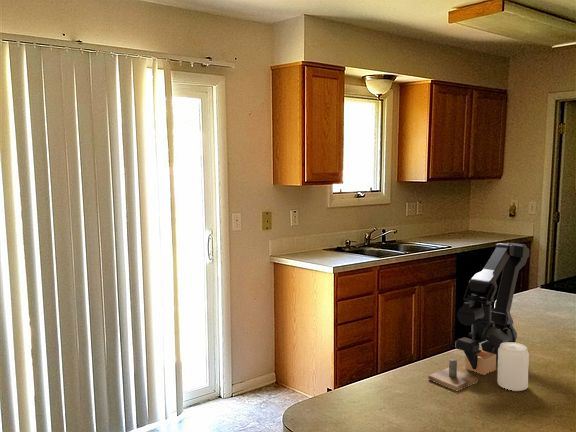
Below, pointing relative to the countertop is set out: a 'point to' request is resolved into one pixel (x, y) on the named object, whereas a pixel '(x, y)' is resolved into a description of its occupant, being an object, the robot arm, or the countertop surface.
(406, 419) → the countertop surface
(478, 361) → the collar
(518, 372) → the beverage can
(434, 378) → the post stand
